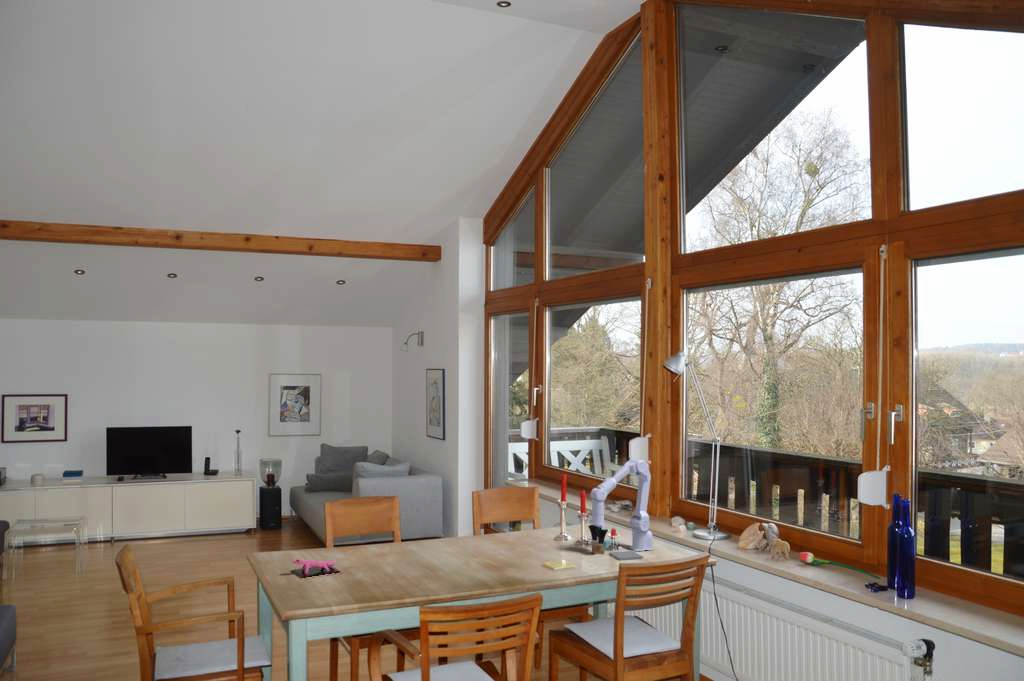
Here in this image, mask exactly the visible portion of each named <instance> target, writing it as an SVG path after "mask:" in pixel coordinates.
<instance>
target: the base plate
mask: <svg viewBox="0 0 1024 681" xmlns="http://www.w3.org/2000/svg"><path fill="white" fill-rule="evenodd" d="M608 555H609V556H610V557H612V556H613V558H614V557H615V559H616V560H618V561H629V560H630V561H631V560H642V559H641V558H643V559H644V556H643V555H641V554H639V553H637V552H636V551H634V550H627V551H625V550H624V551H612V552H608Z"/></svg>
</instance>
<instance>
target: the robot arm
mask: <svg viewBox="0 0 1024 681" xmlns="http://www.w3.org/2000/svg"><path fill="white" fill-rule="evenodd" d="M629 474H635V475H636V476H637V478H638V484H637V486H638V488H637V495H636V496H637V497H636V502H635V509H634V511H633V512H632V514H631V518H630V519H629V526H630V527H631V530H632V531H631V532H632V534H631V537H632V539H631V540H632V541H631V542H632V544H631V546H629V547H628V548H629V549H630V550H631V551H633V552H644V551H645V550H648V551H653V550H654V547H653V543H654V542H653V533H652V531H650V527H651V522H650V516H649V514H648V512H647V511H648V505H649V504H648V503H649V496H650V495H649V494H650V487H651V479H652V475H651V472H650V465H649V463H647V461H645V459H644V460H643V459H637V458H636V457H635V458H634V457H631V458H630V459H628V461H626V462H625V463H624V465H623V466H622V467H621V468H620V469H618V471H617V472H616V473H615V474H614V475H613V476H612V477H607V478H605V479H604V481H602V483H600V484H598V485H597V487H594V488H592V490H591V491H590V493H589V495H590V498H591V510H592V511H591V518H592V519H591V520H590V522H589V525H588V529H589V532H590V536H591V540H592V541H593V542H594V541H597V542H598V544H603V543H604V540H606V539H605V538H606V535H607V533H608V532H609V529H607V525H606V524H605V501H606V500H607V496H608V495H609V493H611V492H612V491H614V489H616V488H617V484H618V483H619V482H620V481H621V480H623V479H624V478H626V477H627V475H629ZM645 552H646V551H645Z"/></svg>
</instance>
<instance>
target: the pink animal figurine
mask: <svg viewBox="0 0 1024 681" xmlns="http://www.w3.org/2000/svg"><path fill="white" fill-rule="evenodd" d="M292 564H296V565H299V566H301V567H302V568H297V569H296V568H295V569H292V570H290V571H291V573H292V572H293V573H294V574H293V573H292V574H293V575H295V574H296V575H297V576H296V575H295V576H296V577H298V576H299V577H300V578H299V577H298V578H299V579H301V578H305V579H307V578H306V577H312V576H319V575H325V574H332V573H339V572H341V570H340V569H338V568H336V567H335V568H334V565H336V560H329V561H327V560H326V561H319V560H308V559H302V558H296V559H294V560H293V561H292ZM319 577H320V576H319ZM312 578H313V577H312Z"/></svg>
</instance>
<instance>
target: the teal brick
mask: <svg viewBox="0 0 1024 681" xmlns="http://www.w3.org/2000/svg"><path fill="white" fill-rule="evenodd" d="M612 540H613V539H611V538H610V539H604V543H603V544H602V545H603V546H604V548H605V549H607V548H608V547H609V546H610V545H611V543H612ZM613 541H614V540H613ZM614 544H616V543H615V541H614ZM605 549H604V550H605Z"/></svg>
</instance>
